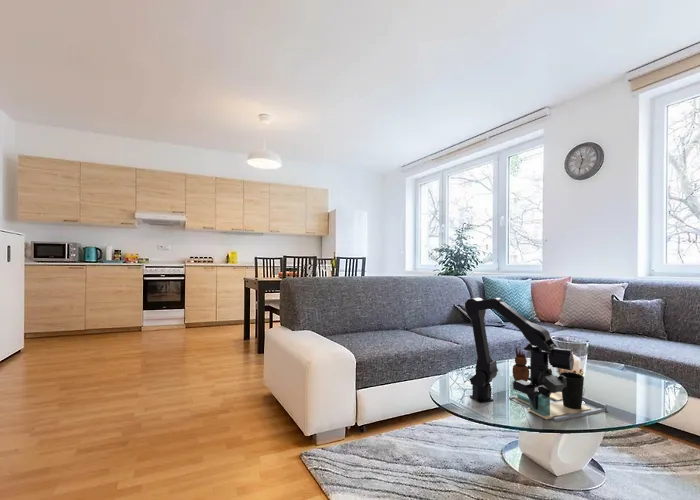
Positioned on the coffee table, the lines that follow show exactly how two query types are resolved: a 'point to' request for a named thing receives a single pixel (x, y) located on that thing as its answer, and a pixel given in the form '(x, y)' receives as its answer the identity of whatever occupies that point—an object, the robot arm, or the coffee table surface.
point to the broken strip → (553, 396)
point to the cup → (573, 390)
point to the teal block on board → (553, 408)
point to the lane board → (589, 403)
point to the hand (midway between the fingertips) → (539, 408)
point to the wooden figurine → (520, 367)
